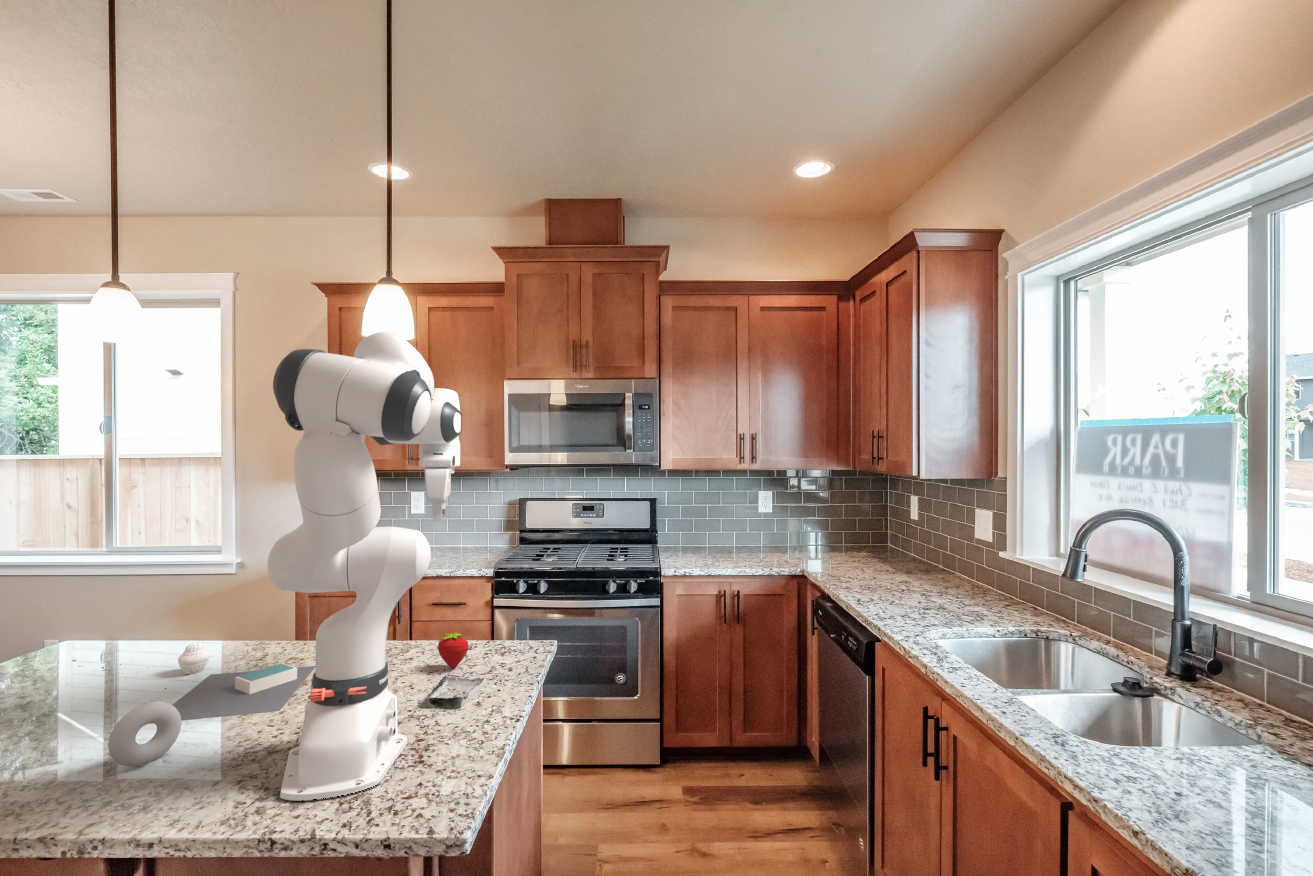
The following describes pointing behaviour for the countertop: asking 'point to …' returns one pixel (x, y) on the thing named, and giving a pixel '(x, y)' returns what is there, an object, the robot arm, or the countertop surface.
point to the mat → (235, 697)
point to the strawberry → (453, 649)
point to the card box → (265, 678)
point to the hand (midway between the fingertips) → (439, 518)
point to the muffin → (194, 658)
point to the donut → (127, 728)
